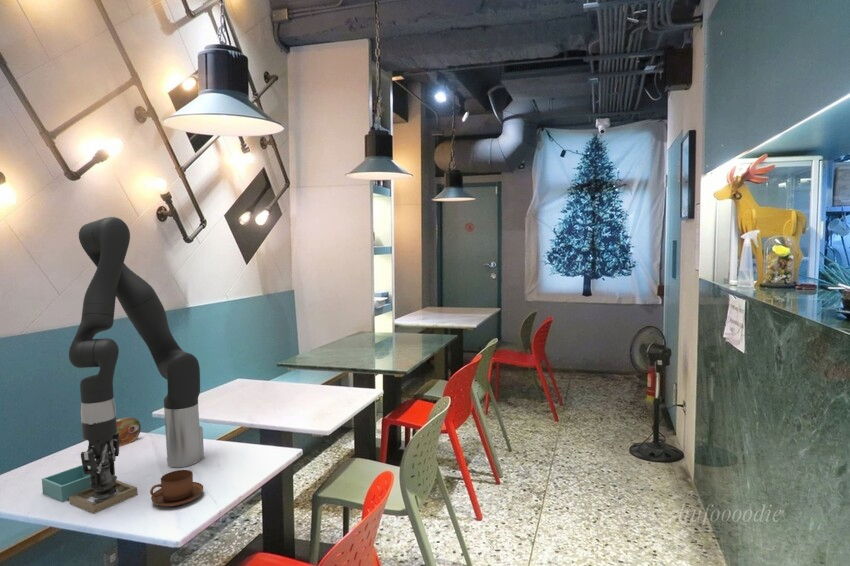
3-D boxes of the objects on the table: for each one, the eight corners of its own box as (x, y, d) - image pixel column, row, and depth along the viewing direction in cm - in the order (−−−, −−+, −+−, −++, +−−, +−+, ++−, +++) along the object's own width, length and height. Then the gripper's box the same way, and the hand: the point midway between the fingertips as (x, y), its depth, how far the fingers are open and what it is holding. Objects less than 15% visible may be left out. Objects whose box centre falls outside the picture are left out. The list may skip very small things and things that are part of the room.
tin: (96, 455, 165) (95, 428, 164) (90, 453, 166) (89, 427, 166) (142, 439, 178) (140, 414, 178) (136, 437, 180) (134, 413, 179)
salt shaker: (116, 495, 133) (113, 449, 132) (89, 500, 131) (85, 453, 130) (119, 486, 139) (116, 441, 138) (93, 491, 136) (89, 445, 135)
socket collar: (113, 486, 142) (113, 478, 142) (137, 494, 137) (137, 487, 137) (69, 503, 133) (69, 495, 133) (93, 513, 127) (92, 505, 127)
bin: (83, 478, 147) (82, 464, 147) (103, 486, 142) (102, 471, 142) (42, 493, 139) (41, 478, 138) (62, 502, 134) (61, 486, 133)
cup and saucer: (170, 515, 126) (168, 490, 125) (141, 503, 132) (140, 479, 132) (213, 495, 136) (212, 471, 136) (185, 484, 142) (184, 462, 142)
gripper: (98, 409, 140) (102, 470, 141) (66, 427, 126) (71, 496, 127) (127, 407, 141) (132, 469, 142) (99, 426, 126) (104, 494, 128)
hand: (103, 481), depth 135 cm, fingers closed on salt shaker, 6 cm apart
